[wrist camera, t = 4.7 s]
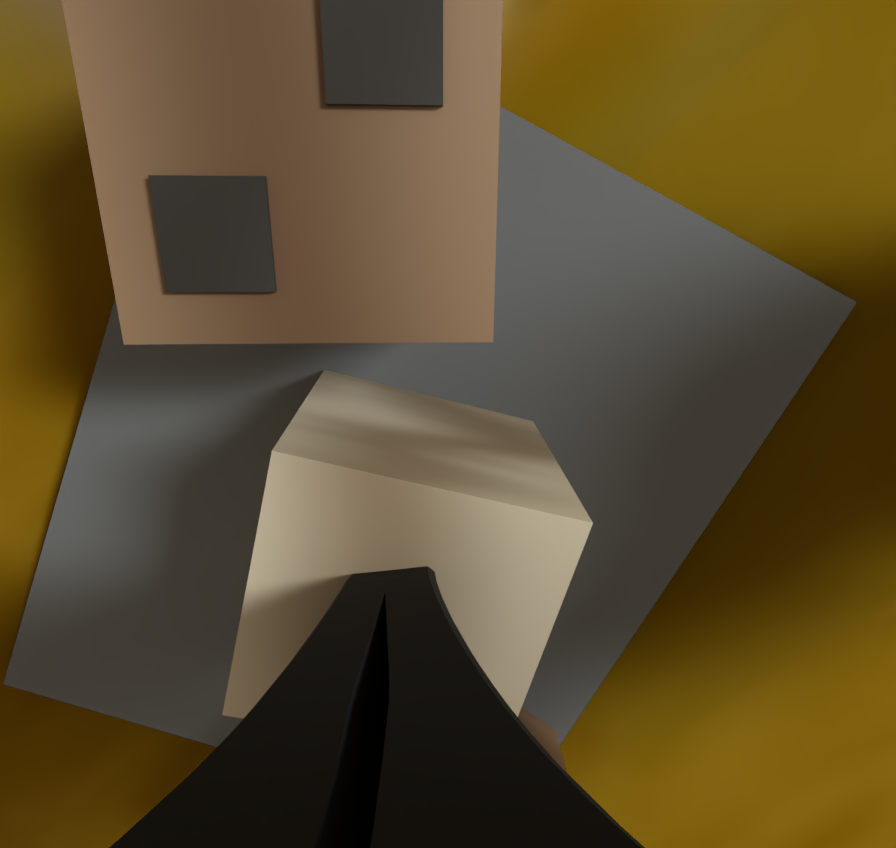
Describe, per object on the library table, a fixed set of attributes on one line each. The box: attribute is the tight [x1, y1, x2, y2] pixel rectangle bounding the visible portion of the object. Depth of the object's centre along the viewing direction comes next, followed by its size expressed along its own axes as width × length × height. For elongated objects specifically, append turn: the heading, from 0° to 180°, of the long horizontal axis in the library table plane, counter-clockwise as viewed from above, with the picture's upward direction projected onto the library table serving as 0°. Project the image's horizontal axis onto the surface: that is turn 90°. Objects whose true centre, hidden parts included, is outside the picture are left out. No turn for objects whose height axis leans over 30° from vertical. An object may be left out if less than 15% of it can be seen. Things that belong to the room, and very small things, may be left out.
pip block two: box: [62, 0, 503, 345], centre depth 9 cm, size 5×5×5 cm
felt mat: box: [3, 106, 857, 747], centre depth 15 cm, size 15×18×1 cm
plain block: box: [222, 370, 593, 719], centre depth 12 cm, size 5×5×5 cm
